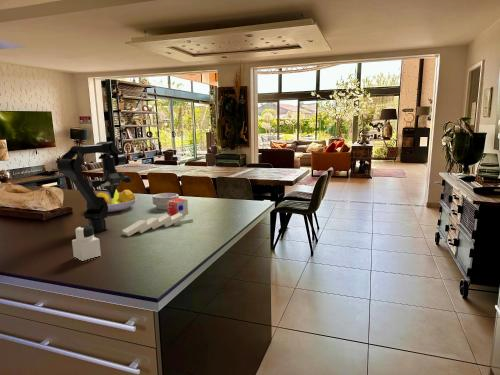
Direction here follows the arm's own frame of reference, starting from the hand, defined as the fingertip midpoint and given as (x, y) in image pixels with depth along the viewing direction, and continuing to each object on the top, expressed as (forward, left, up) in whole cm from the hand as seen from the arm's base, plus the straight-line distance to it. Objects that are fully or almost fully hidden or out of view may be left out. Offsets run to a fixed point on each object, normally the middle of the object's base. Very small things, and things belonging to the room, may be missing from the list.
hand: (112, 198), depth 170 cm
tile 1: (-8, -22, -12) cm, 26 cm away
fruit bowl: (+18, +29, -13) cm, 37 cm away
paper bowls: (+36, +4, -13) cm, 39 cm away
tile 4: (+11, -25, -12) cm, 30 cm away
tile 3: (+5, -23, -12) cm, 26 cm away
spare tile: (+16, -26, -13) cm, 33 cm away
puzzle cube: (+30, -13, -13) cm, 36 cm away
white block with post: (-32, -32, -13) cm, 47 cm away
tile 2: (-2, -22, -12) cm, 26 cm away
